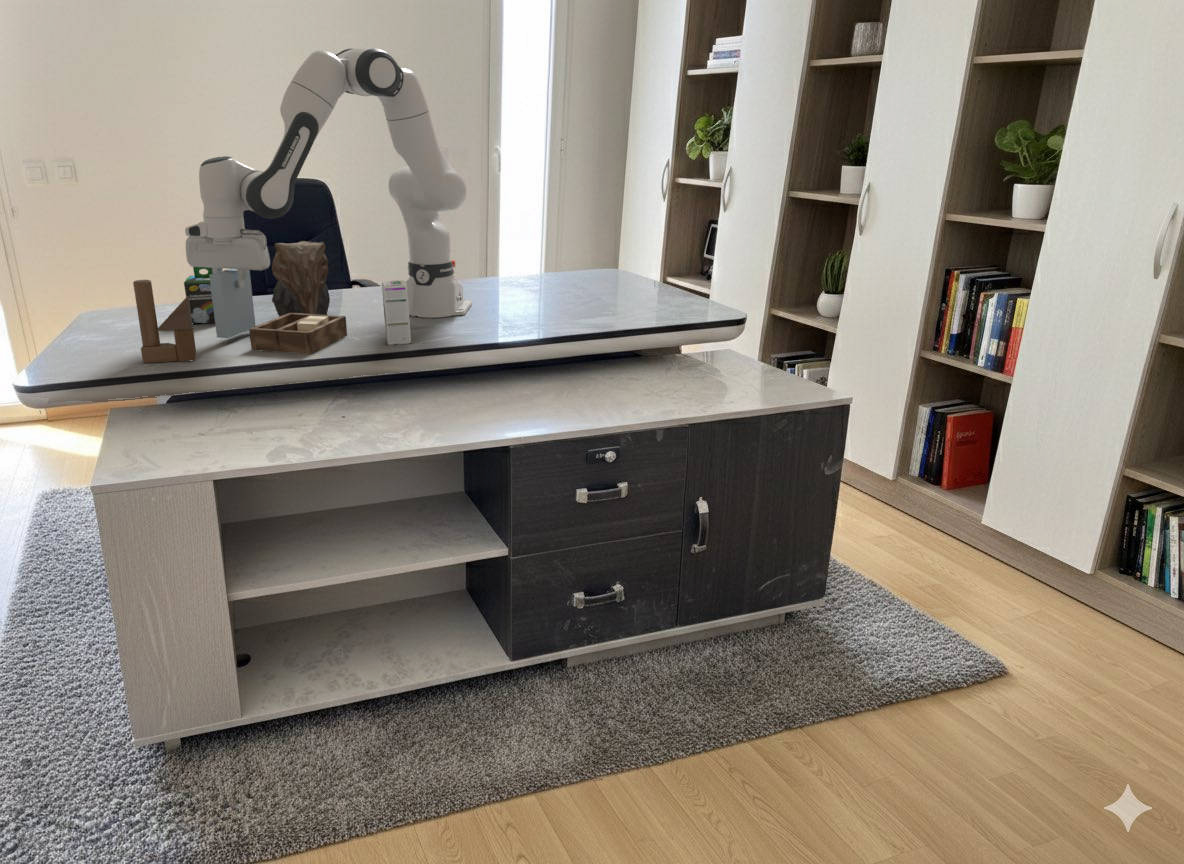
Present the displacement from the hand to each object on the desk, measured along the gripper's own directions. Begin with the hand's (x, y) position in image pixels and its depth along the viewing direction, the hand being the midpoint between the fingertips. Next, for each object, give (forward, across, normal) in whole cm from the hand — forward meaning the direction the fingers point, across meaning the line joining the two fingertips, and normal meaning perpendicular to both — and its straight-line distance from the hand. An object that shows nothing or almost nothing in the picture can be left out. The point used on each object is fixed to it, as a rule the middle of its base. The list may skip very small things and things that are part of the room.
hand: (231, 286), depth 223 cm
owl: (+13, -5, -24) cm, 28 cm away
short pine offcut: (+9, -20, 0) cm, 22 cm away
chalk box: (+13, +18, -16) cm, 27 cm away
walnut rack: (+13, -17, 0) cm, 21 cm away
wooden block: (+13, +3, +22) cm, 26 cm away
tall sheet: (+11, 0, 0) cm, 11 cm away
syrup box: (+13, -39, -7) cm, 42 cm away
